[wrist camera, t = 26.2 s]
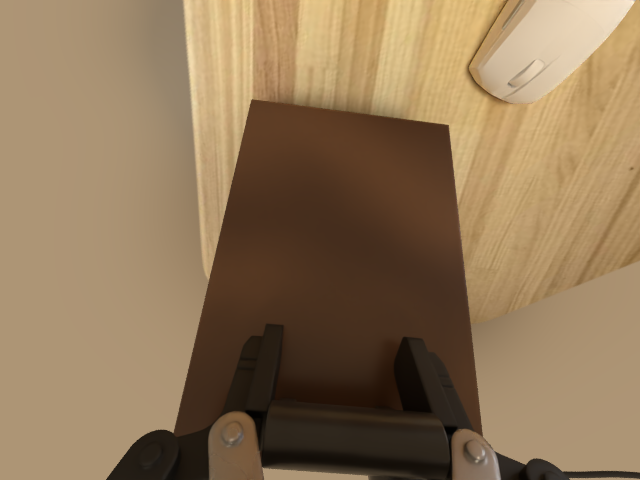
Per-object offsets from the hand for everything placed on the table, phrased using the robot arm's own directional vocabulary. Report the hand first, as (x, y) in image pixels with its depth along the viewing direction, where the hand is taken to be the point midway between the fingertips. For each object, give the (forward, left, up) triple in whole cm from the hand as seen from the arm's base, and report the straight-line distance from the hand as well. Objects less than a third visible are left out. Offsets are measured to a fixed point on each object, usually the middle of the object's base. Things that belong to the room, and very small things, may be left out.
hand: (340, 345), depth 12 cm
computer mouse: (-4, -23, -20) cm, 31 cm away
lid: (+1, -2, -4) cm, 5 cm away
